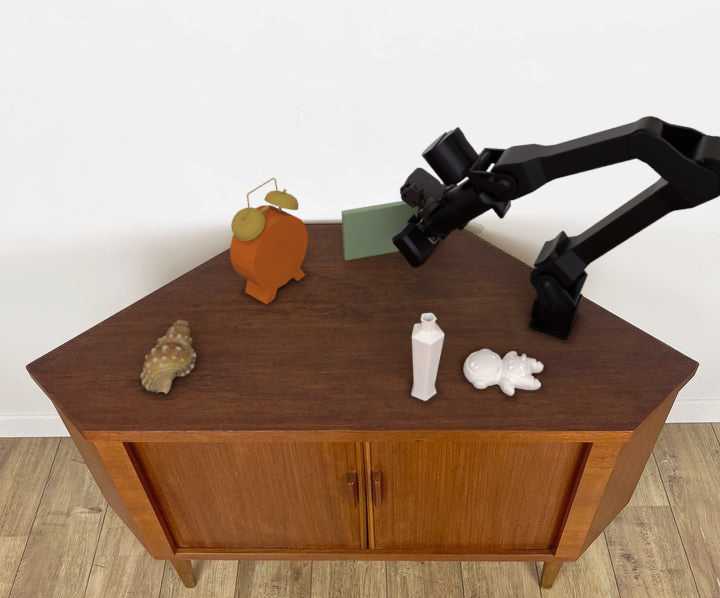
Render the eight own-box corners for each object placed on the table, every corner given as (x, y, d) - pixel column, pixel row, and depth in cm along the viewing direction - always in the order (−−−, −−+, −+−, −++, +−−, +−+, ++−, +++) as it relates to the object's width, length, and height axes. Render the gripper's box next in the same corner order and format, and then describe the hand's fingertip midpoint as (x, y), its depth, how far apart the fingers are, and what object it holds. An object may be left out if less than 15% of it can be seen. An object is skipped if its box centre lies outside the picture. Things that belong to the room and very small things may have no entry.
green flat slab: (422, 236, 127) (425, 190, 120) (428, 246, 125) (430, 199, 118) (341, 250, 124) (338, 204, 117) (345, 260, 122) (343, 214, 115)
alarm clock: (287, 258, 125) (275, 162, 110) (312, 271, 122) (302, 173, 108) (236, 295, 118) (216, 197, 103) (261, 309, 115) (243, 210, 101)
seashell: (149, 373, 109) (152, 314, 106) (199, 378, 110) (203, 320, 107) (134, 393, 101) (136, 330, 98) (189, 399, 101) (192, 336, 98)
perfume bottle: (437, 404, 99) (443, 331, 88) (407, 400, 100) (411, 327, 89) (440, 381, 102) (447, 308, 92) (412, 378, 103) (416, 305, 92)
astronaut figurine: (536, 403, 99) (539, 390, 97) (457, 384, 102) (459, 370, 100) (545, 363, 105) (549, 349, 102) (470, 346, 108) (472, 332, 105)
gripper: (458, 135, 107) (397, 179, 119) (404, 190, 96) (343, 233, 108) (498, 190, 110) (434, 228, 122) (450, 250, 99) (385, 285, 111)
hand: (400, 242), depth 116 cm, fingers closed
